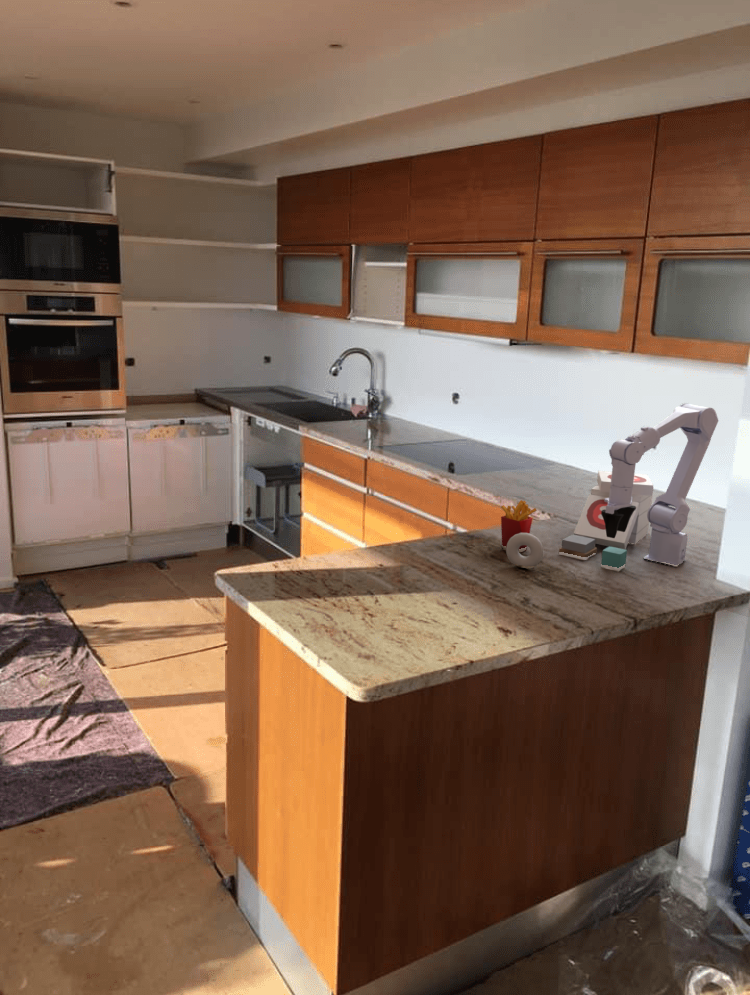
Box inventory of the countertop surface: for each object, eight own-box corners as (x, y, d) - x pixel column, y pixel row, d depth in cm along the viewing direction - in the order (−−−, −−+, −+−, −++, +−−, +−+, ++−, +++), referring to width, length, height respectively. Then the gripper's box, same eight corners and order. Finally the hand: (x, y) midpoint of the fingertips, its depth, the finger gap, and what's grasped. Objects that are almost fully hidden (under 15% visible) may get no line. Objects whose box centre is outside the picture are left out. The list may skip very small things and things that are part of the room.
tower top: (594, 547, 238) (595, 539, 238) (584, 553, 233) (585, 544, 232) (571, 542, 242) (572, 534, 242) (561, 548, 237) (562, 539, 236)
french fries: (497, 549, 239) (501, 499, 235) (514, 544, 245) (518, 494, 241) (522, 557, 233) (527, 505, 229) (539, 551, 239) (544, 500, 235)
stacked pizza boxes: (566, 544, 246) (572, 485, 242) (597, 522, 271) (603, 467, 267) (631, 557, 237) (638, 496, 232) (657, 533, 262) (664, 477, 257)
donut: (503, 567, 224) (506, 531, 222) (506, 563, 227) (509, 528, 225) (540, 573, 221) (543, 537, 218) (542, 569, 224) (546, 533, 221)
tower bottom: (596, 556, 239) (597, 547, 238) (585, 563, 233) (585, 554, 232) (570, 550, 243) (570, 541, 243) (558, 556, 237) (559, 548, 236)
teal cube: (625, 567, 228) (627, 550, 227) (618, 572, 225) (620, 554, 223) (607, 563, 231) (609, 546, 230) (600, 567, 227) (602, 550, 226)
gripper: (617, 478, 230) (611, 525, 233) (596, 487, 219) (591, 536, 222) (642, 482, 226) (636, 530, 230) (623, 492, 215) (617, 542, 218)
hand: (616, 534), depth 226 cm, fingers open, 7 cm apart
